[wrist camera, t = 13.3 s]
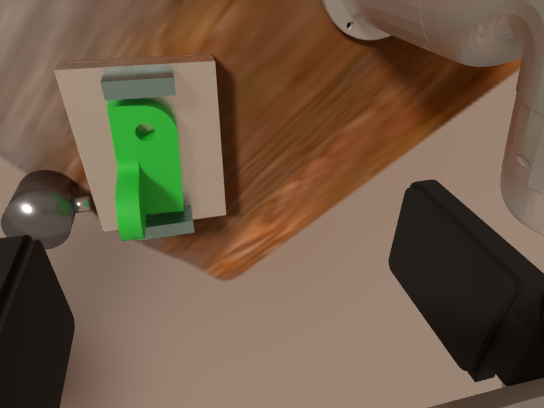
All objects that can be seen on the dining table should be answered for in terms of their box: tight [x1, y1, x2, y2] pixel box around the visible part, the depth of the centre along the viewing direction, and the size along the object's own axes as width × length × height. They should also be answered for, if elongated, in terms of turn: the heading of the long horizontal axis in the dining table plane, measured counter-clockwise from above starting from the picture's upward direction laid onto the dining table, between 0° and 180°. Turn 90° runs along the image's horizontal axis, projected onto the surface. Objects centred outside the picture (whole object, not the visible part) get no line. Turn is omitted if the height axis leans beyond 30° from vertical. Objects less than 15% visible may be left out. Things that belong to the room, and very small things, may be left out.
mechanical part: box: [107, 99, 184, 241], centre depth 37 cm, size 12×6×8 cm, turn 177°
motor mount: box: [1, 53, 226, 250], centre depth 40 cm, size 22×18×6 cm
